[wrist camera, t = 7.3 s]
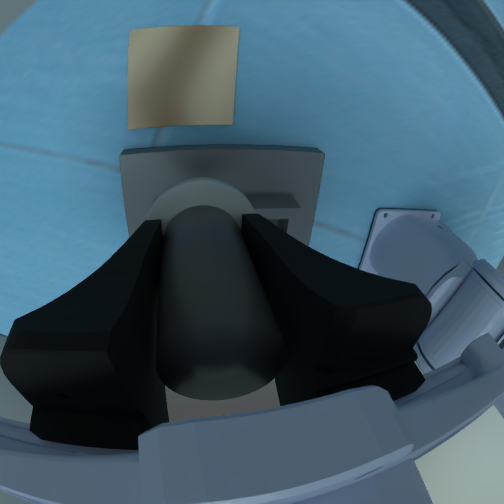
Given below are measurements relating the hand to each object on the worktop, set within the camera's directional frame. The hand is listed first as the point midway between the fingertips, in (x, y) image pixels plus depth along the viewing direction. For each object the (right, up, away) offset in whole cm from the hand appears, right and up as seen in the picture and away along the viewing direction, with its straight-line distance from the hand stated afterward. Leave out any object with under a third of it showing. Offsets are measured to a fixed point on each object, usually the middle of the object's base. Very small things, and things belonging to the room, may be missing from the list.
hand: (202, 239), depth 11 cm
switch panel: (-1, -1, +14) cm, 14 cm away
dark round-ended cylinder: (-1, +2, +3) cm, 3 cm away
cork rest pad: (-3, +11, +5) cm, 12 cm away
